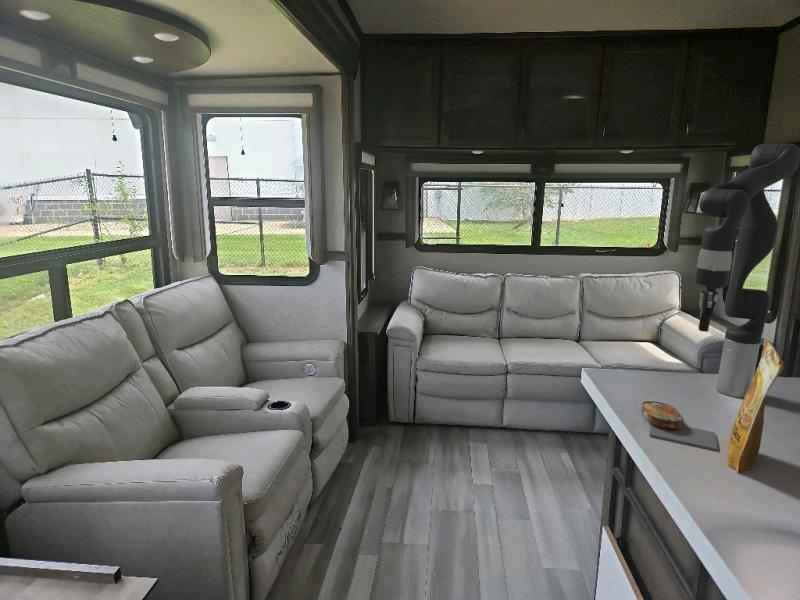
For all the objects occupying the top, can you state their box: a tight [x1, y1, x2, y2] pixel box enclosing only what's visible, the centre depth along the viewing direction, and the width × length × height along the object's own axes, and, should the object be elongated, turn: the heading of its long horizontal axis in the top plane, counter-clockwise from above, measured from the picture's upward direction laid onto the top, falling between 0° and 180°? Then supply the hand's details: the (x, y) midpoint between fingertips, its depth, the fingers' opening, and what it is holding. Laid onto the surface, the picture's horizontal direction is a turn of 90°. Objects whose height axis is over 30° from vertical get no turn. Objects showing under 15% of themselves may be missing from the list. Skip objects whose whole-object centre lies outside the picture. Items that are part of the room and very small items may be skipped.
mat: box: [649, 423, 719, 452], centre depth 133 cm, size 10×15×1 cm, turn 63°
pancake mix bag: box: [727, 338, 785, 473], centre depth 119 cm, size 7×19×28 cm, turn 146°
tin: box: [641, 400, 684, 429], centre depth 140 cm, size 15×3×8 cm
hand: (703, 330), depth 139 cm, fingers closed
